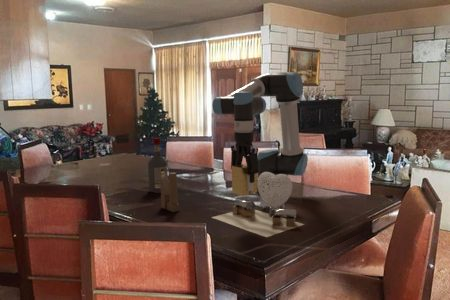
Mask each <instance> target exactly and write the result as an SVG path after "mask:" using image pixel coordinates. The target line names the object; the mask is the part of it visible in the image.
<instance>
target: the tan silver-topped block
mask: <svg viewBox="0 0 450 300" xmlns="http://www.w3.org/2000/svg"><path fill="white" fill-rule="evenodd" d="M233 203H234V206H232V212H233V214H236V215H239V214H242V217H245V218H248V217H252V216H255V210H256V209H255V208H256V203H255V202H254V201H253V200H249V201H246V200H243V199H239V198H235V200H234V202H233Z"/></svg>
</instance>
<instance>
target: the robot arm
mask: <svg viewBox="0 0 450 300" xmlns="http://www.w3.org/2000/svg"><path fill="white" fill-rule="evenodd" d="M303 93H304V84H303V79H302V77H301V75H300V73H298V72H293V71H291V72H290V71H287V72H286V71H284V72H269V73H268V72H267V73H264V74H262V75H258V76H256V77H254V78H251V80H249V81H248V82H247V84H246V85H244V86H242V87H241V88H238V89H236V90H235V91H232V92H231V93H229V94H227V95H225V96H217V97H215V98H213V101H212V111H213V112H214V114H216V115H222V116H223V115H226V116H229V115H231V116H232V115H233V117H234V119H233V123H234V124H233V126H234V128H233V130H234V131H235V132H234V133H233V135H234V137H233V138H234V142H235V144H234V145H230V150H231V158H230V159H231V161H230V170H232V166H235V165H239V164H243V159H244V160H245V164H247V168H248V172H249V174H248V175H247V191H252V190H254V181H255V179H254V175H255V174H256V173H257V181H258V177H259V176H260V175H261V174H262V173H263V172H270V173H273V174H274V175H278V174H285V175H287V176H294V177H296V176H303V175H304V174H305V172H306V170H307V165H308V159H309V158H308V154H307V153H304V149H303V147H301V144H300V132H299V131H300V128H299V116H298V114H299V113H298V102H299V100H300V97H302V95H303ZM265 97H270V98H271V97H273V98H275V101H276V102H277V103H278V104H279V113H280V114H279V115H280V116H279V117H280V126H281V137H282V149H278V148H277V149H276V148H274V149H266V150H262V151H259V147H254V145H253V142H254V132H253V131H254V116H255V115H260V114H262V113H264V112H265V111H266V108H267V102H266V100H265V99H264V98H265ZM263 176H264V175H263ZM269 176H270V175H269ZM269 176H267V177H269ZM271 176H272V175H271ZM267 177H266V178H267ZM264 178H265V177H264ZM264 178H263V179H264ZM270 179H271V178H270ZM273 180H274V179H273ZM279 181H280V180H279ZM266 182H267V181H266ZM270 182H271V181H270ZM273 182H274V181H273ZM264 183H265V182H264ZM277 183H278V182H277ZM269 184H270V183H269ZM269 184H268V183H267V185H269ZM275 184H276V183H275ZM275 184H274V185H275ZM272 185H273V184H272ZM273 187H274V186H273ZM276 187H277V186H276ZM279 187H280V186H279ZM263 188H264V186H263ZM269 188H270V187H269ZM260 190H261V189H260ZM263 192H264V191H263ZM255 194H257V195H260V194H259V191H258V187H257V192H256V193H255ZM275 195H276V194H275Z"/></svg>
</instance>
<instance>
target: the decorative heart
mask: <svg viewBox="0 0 450 300" xmlns="http://www.w3.org/2000/svg"><path fill="white" fill-rule="evenodd" d="M263 175H264V176H263ZM269 175H270V176H269ZM271 175H272V176H271ZM267 176H269V177H267ZM264 177H265V178H264ZM266 177H267V178H266ZM263 178H264V179H263ZM270 178H271V179H270ZM257 179H258V181H257V187H258V191H259V194H258V195H260V197H261V199H262V201H263V202H264V206H265V207H267V206H268V207H269V208H270V207H273V209H281V206H282V209H285V203H286V202H288V200H289V199H290V196H292V195H291V194H292V191H293V182H292V180H291V177H290V176H289V175H285V174H278V175H274V174H273V173H270V172H263V173H262V174H261V175H260V176H259V177H258V176H257ZM273 179H274V180H273ZM279 180H280V181H279ZM266 181H267V182H266ZM270 181H271V182H270ZM273 181H274V182H273ZM264 182H265V183H264ZM277 182H278V183H277ZM267 183H268V184H269V183H270V184H269V185H267ZM275 183H276V184H275ZM272 184H273V185H272ZM274 184H275V185H274ZM263 186H264V188H263ZM273 186H274V187H273ZM276 186H277V187H276ZM279 186H280V187H279ZM269 187H270V188H269ZM260 189H261V190H260ZM263 191H264V192H263ZM275 194H276V195H275Z"/></svg>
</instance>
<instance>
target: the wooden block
mask: <svg viewBox="0 0 450 300" xmlns="http://www.w3.org/2000/svg"><path fill="white" fill-rule="evenodd" d="M177 177H178V175H177V172H169V173H168V180H167V178H163V179H160V185H161V193H160V203H161V209H164V210H167V211H169V212H171V213H176V212H179V211H180V203H179V202H178V178H177Z"/></svg>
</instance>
